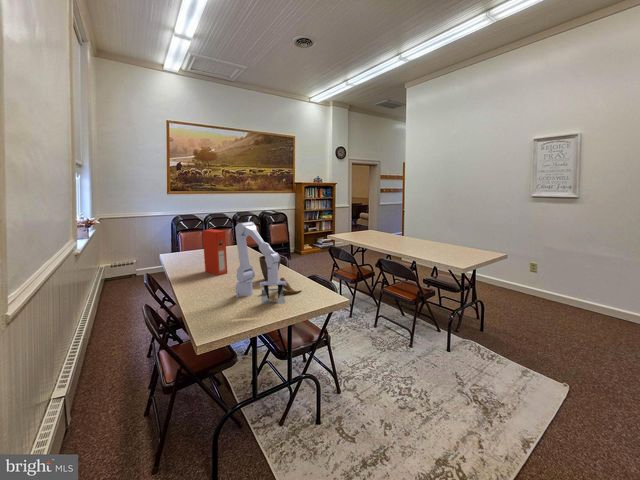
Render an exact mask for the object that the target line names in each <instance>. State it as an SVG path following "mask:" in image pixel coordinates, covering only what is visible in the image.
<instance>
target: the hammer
mask: <svg viewBox="0 0 640 480" xmlns="http://www.w3.org/2000/svg"><path fill="white" fill-rule="evenodd" d="M279 281H286V285H283V287H284V291H283V295H284V296H286V295H289V296H293V295H297V294H299V293H301V292H302V289H301V290H294V289H293V288H292V287H291V286H290V284H289V282H288V281H287V280H286V279H285V278H284V277H281V278H280V279H279Z"/></svg>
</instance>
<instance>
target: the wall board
mask: <svg viewBox="0 0 640 480" xmlns="http://www.w3.org/2000/svg"><path fill="white" fill-rule="evenodd" d="M269 290H278V287H277V288H268V291H269ZM284 290H285V287H283V288H282V290H281V292H280V296H279V298H278V302H269V299H268V297H267V294H266V291H265V290H264V288H262V289H261V305H262V306H264V305H282V304H283V305H284V304H286V298H285V295H283V291H284Z"/></svg>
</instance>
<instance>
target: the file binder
mask: <svg viewBox="0 0 640 480" xmlns="http://www.w3.org/2000/svg"><path fill="white" fill-rule="evenodd" d="M202 242H203V259H204V271H205V272H206V273H209V274H213V275H215V276H222V275H226V274H228V258H227V240H226V231H225V230H219V229H215V228H214V229H213V228H209V229H204V230H203V229H202Z"/></svg>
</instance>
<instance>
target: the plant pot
mask: <svg viewBox="0 0 640 480" xmlns="http://www.w3.org/2000/svg"><path fill="white" fill-rule="evenodd" d="M258 259H259V260H258V261H259V266H260V269H261V273H262V275H263V279H264V280H265V282H267V281H268V267H267V263H266V261H265V259H266V258H265V256H264V255H261V256H259V257H258ZM281 259H282V257H281V256H280V261H279V262H278V271H279V269H280V266H281Z"/></svg>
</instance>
